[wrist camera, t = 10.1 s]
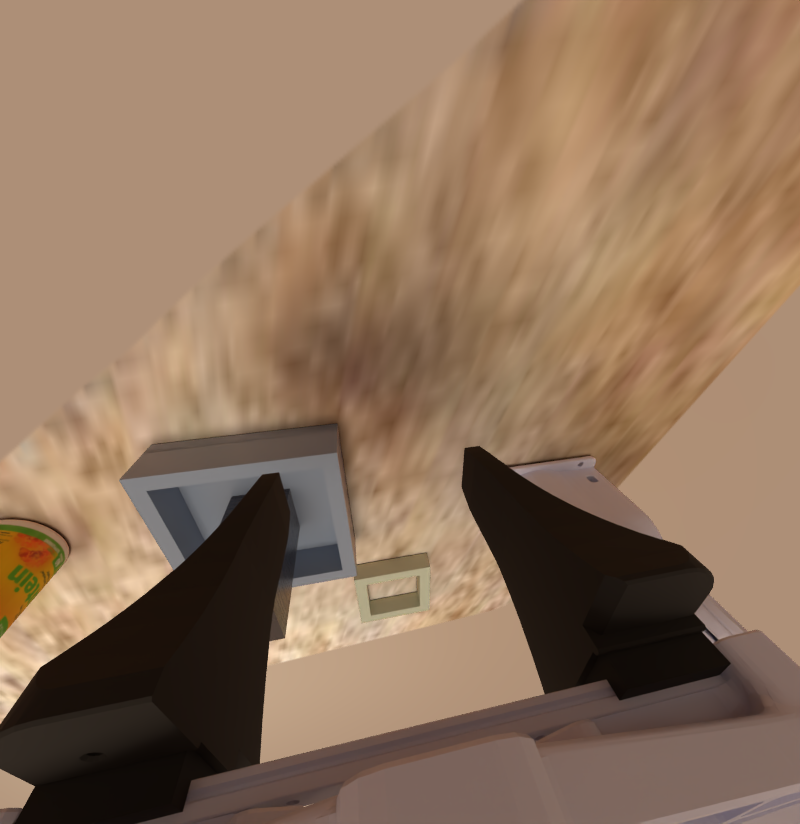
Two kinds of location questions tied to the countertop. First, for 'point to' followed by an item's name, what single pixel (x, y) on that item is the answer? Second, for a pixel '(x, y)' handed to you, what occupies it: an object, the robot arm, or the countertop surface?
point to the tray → (235, 475)
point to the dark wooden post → (286, 572)
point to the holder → (390, 572)
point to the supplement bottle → (26, 565)
